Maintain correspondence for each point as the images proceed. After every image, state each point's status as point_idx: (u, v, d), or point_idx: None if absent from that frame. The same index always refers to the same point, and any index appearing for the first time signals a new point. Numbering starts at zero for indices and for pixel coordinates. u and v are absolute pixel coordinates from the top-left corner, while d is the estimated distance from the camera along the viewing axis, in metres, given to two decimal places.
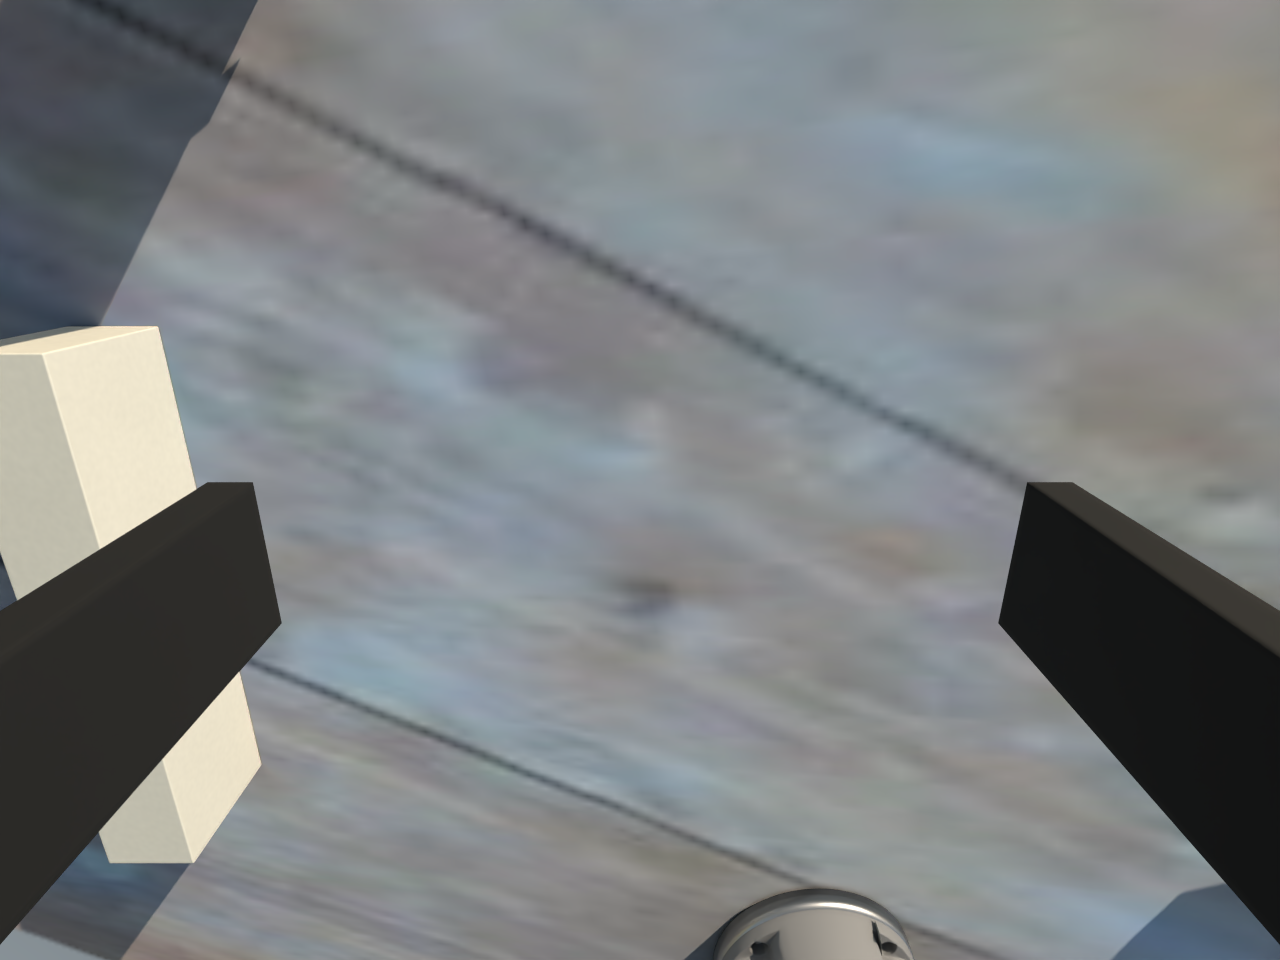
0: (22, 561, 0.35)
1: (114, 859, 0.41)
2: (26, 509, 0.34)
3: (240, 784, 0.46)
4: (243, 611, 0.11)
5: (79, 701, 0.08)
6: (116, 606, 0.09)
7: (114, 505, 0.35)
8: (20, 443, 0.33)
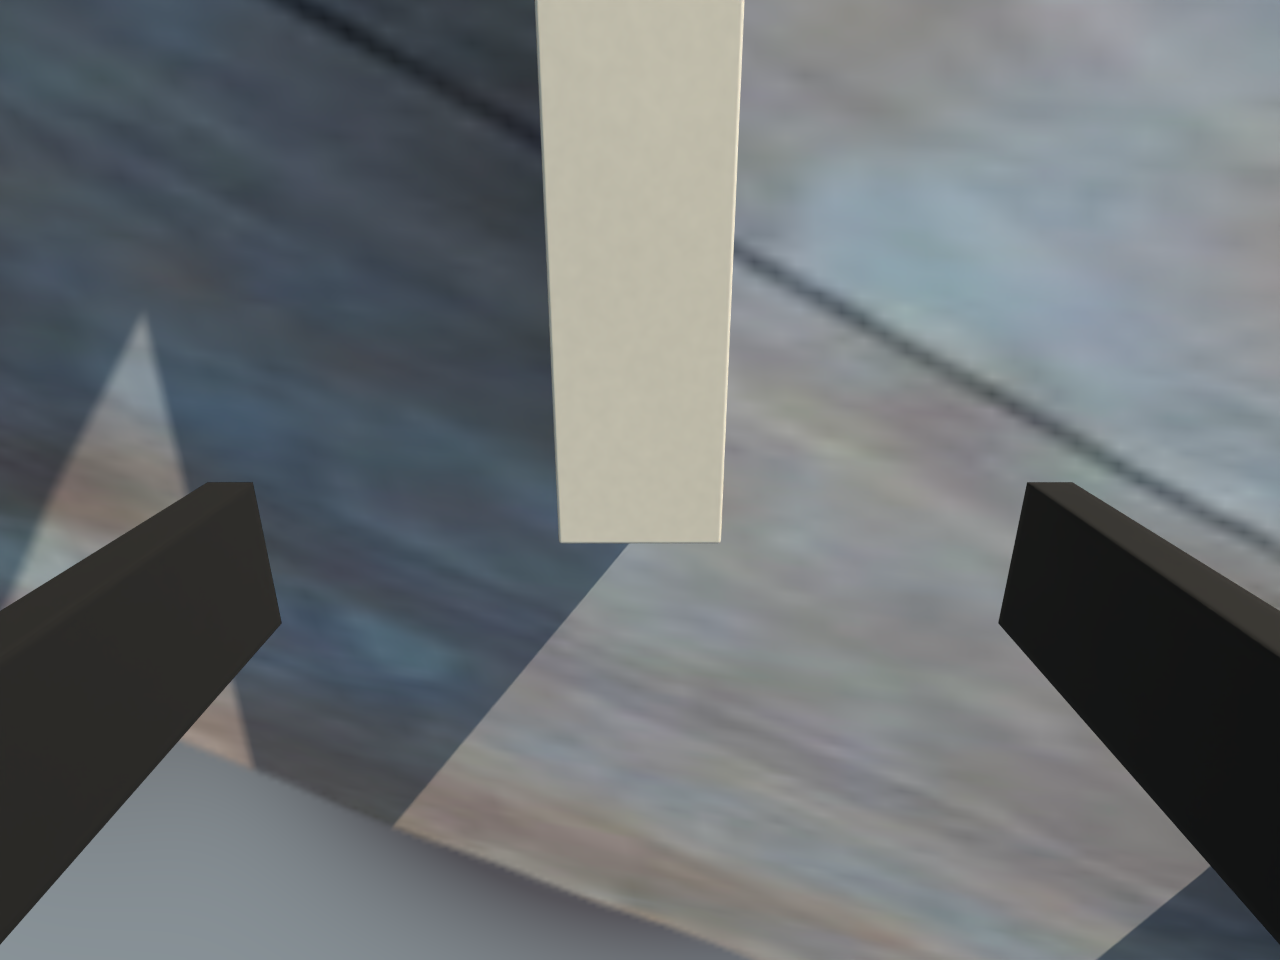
0: None
1: (572, 533, 0.22)
2: None
3: None
4: (243, 611, 0.11)
5: (79, 701, 0.08)
6: (116, 606, 0.09)
7: None
8: None
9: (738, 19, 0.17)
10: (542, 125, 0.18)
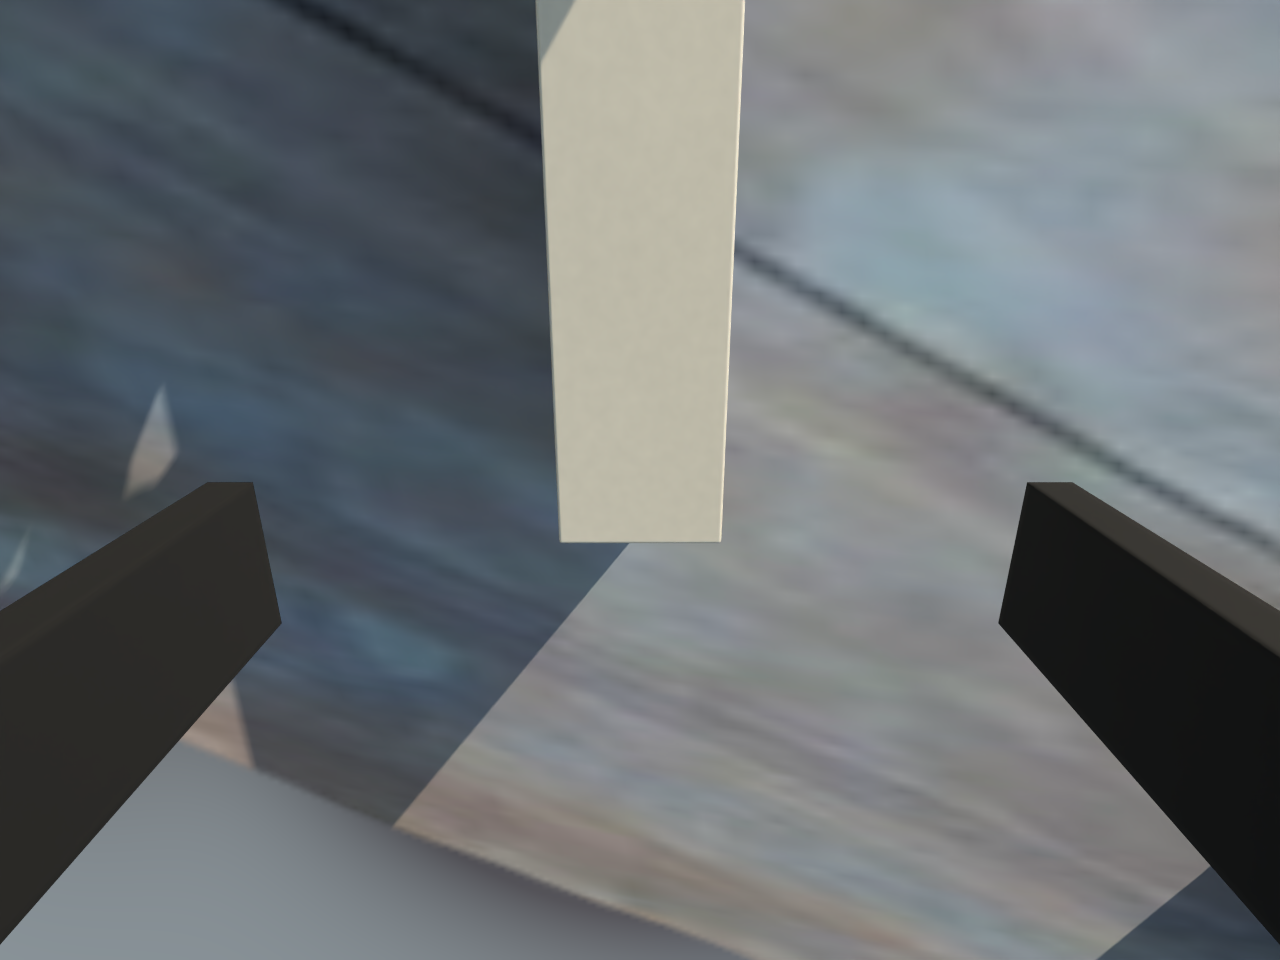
0: None
1: (572, 533, 0.22)
2: None
3: None
4: (243, 611, 0.11)
5: (79, 701, 0.08)
6: (116, 606, 0.09)
7: None
8: None
9: (739, 18, 0.17)
10: (542, 124, 0.18)
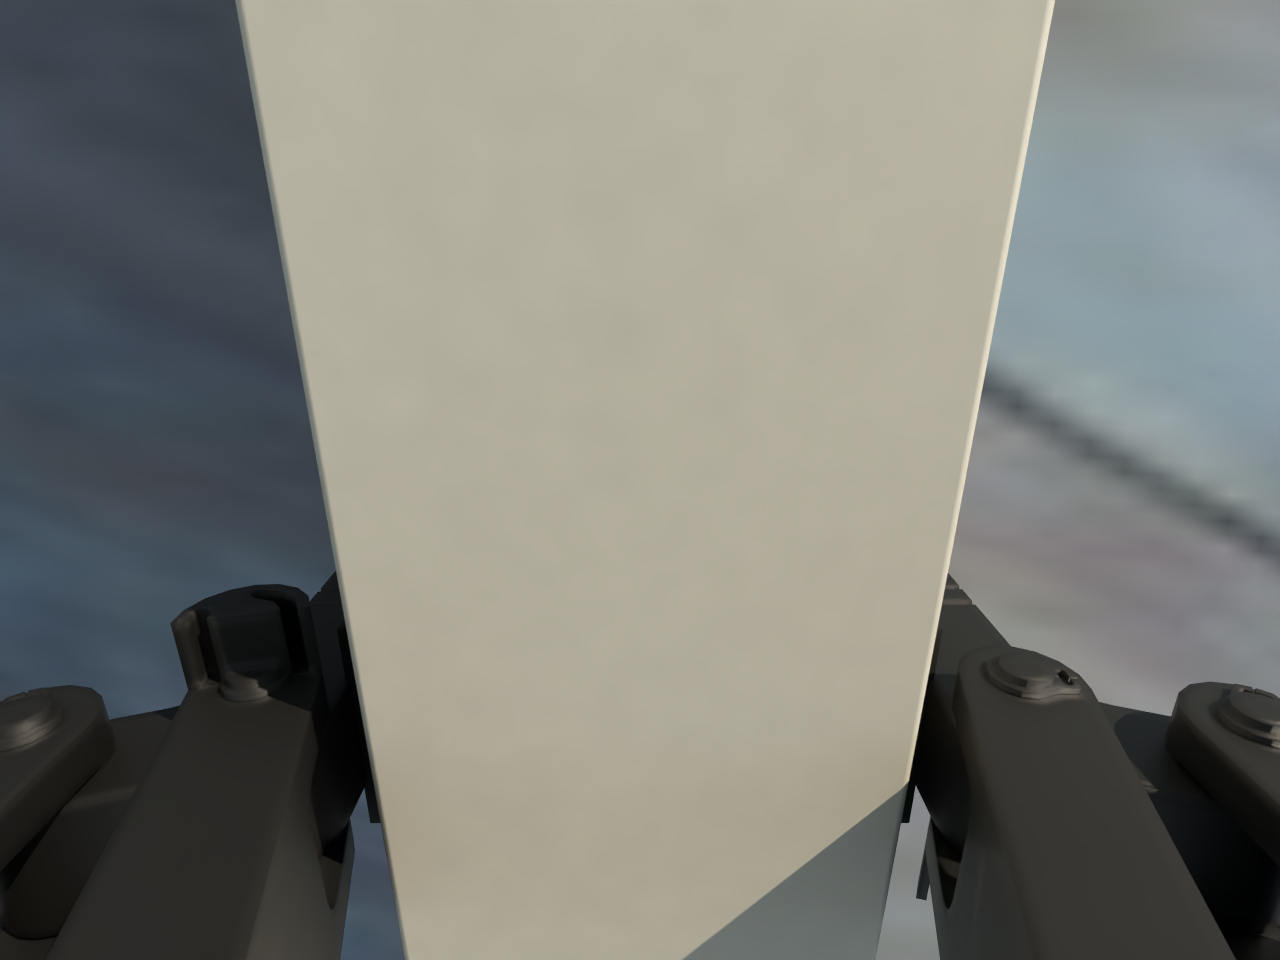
0: None
1: None
2: None
3: None
4: None
5: None
6: None
7: None
8: None
9: None
10: None
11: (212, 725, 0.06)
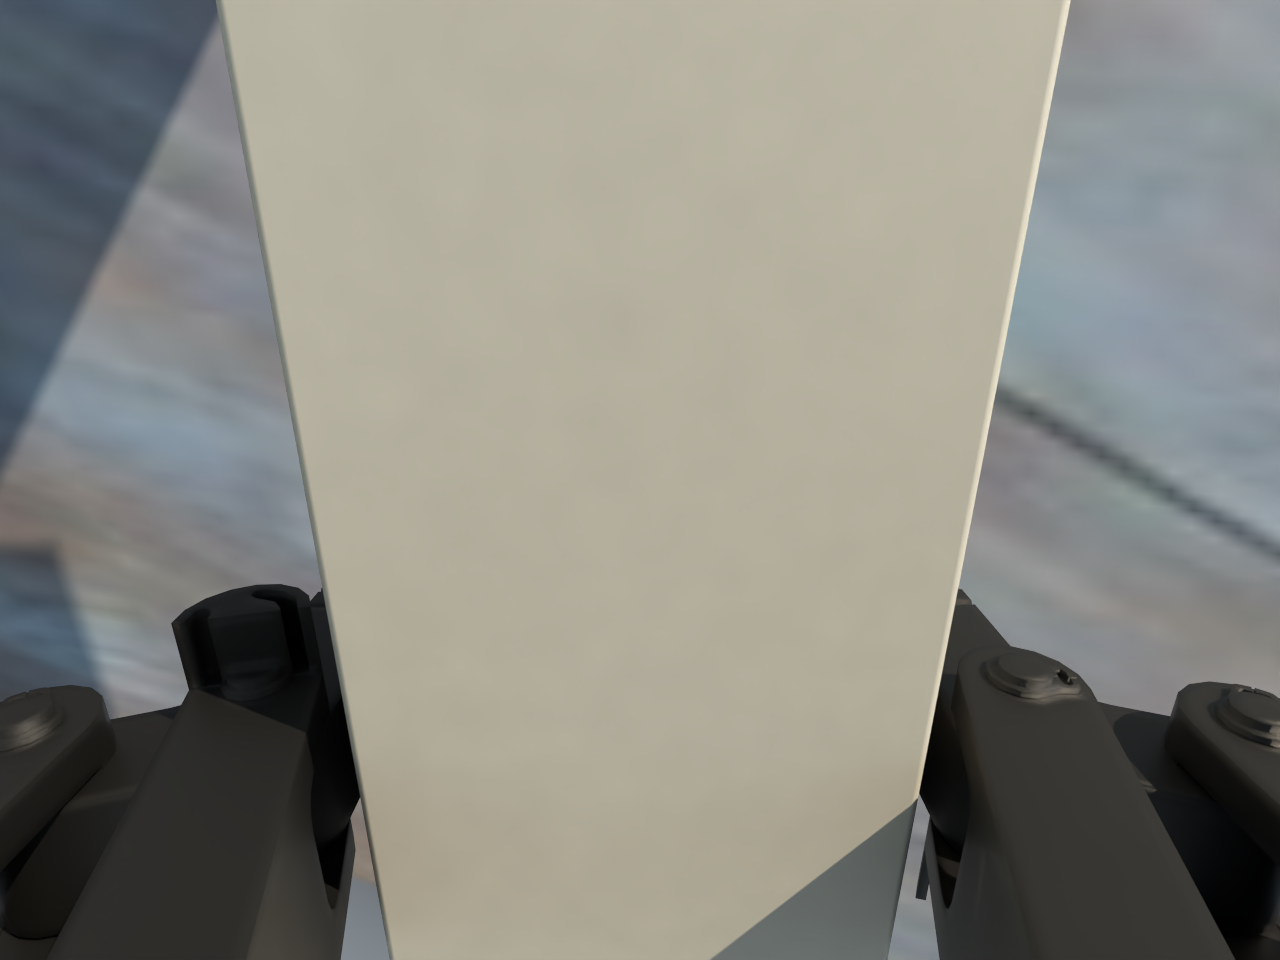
0: None
1: None
2: None
3: None
4: None
5: None
6: None
7: None
8: None
9: None
10: None
11: (212, 725, 0.06)
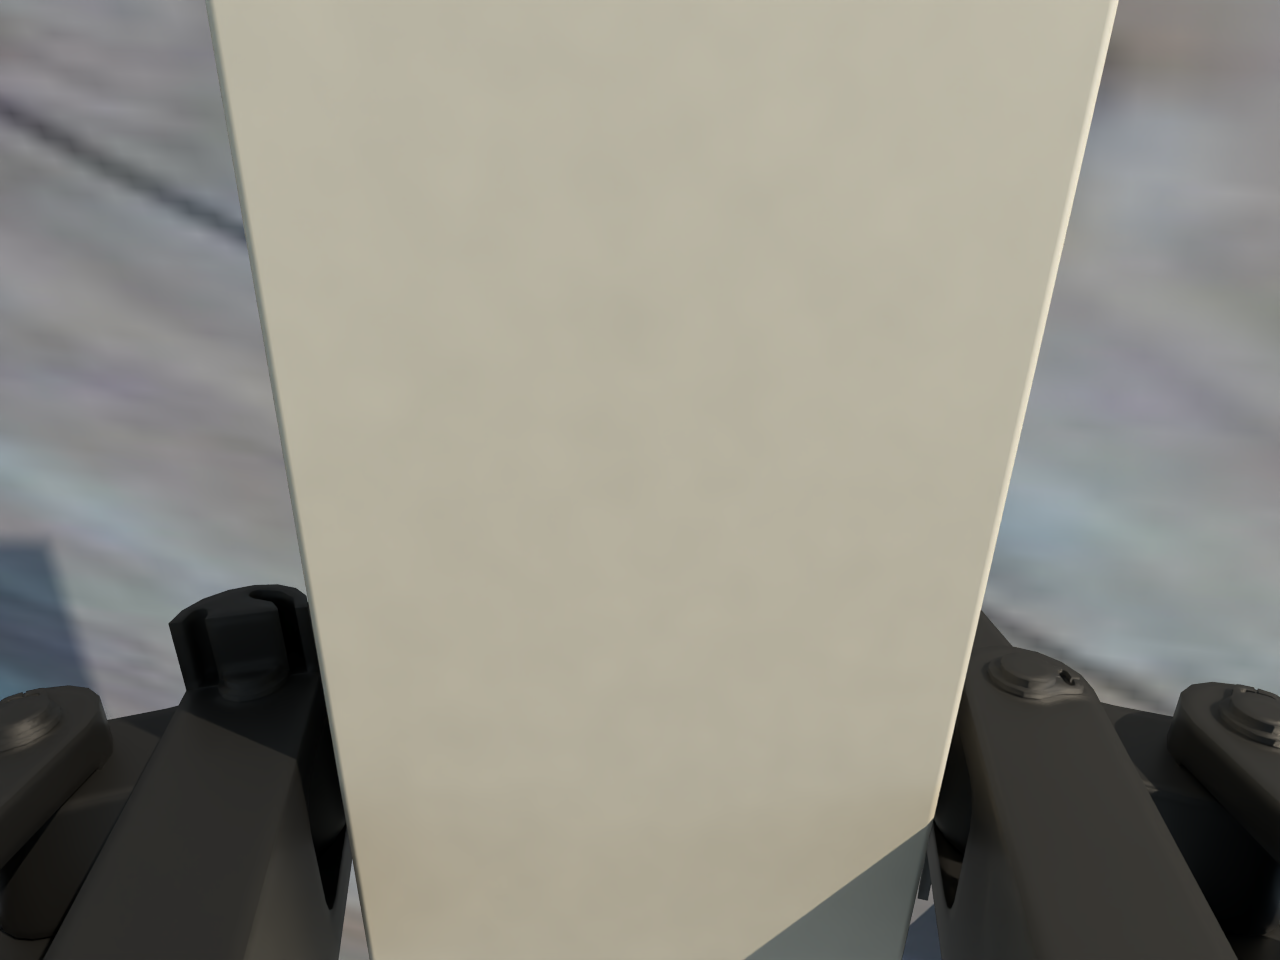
0: None
1: None
2: None
3: None
4: None
5: None
6: None
7: None
8: None
9: None
10: None
11: (210, 725, 0.06)
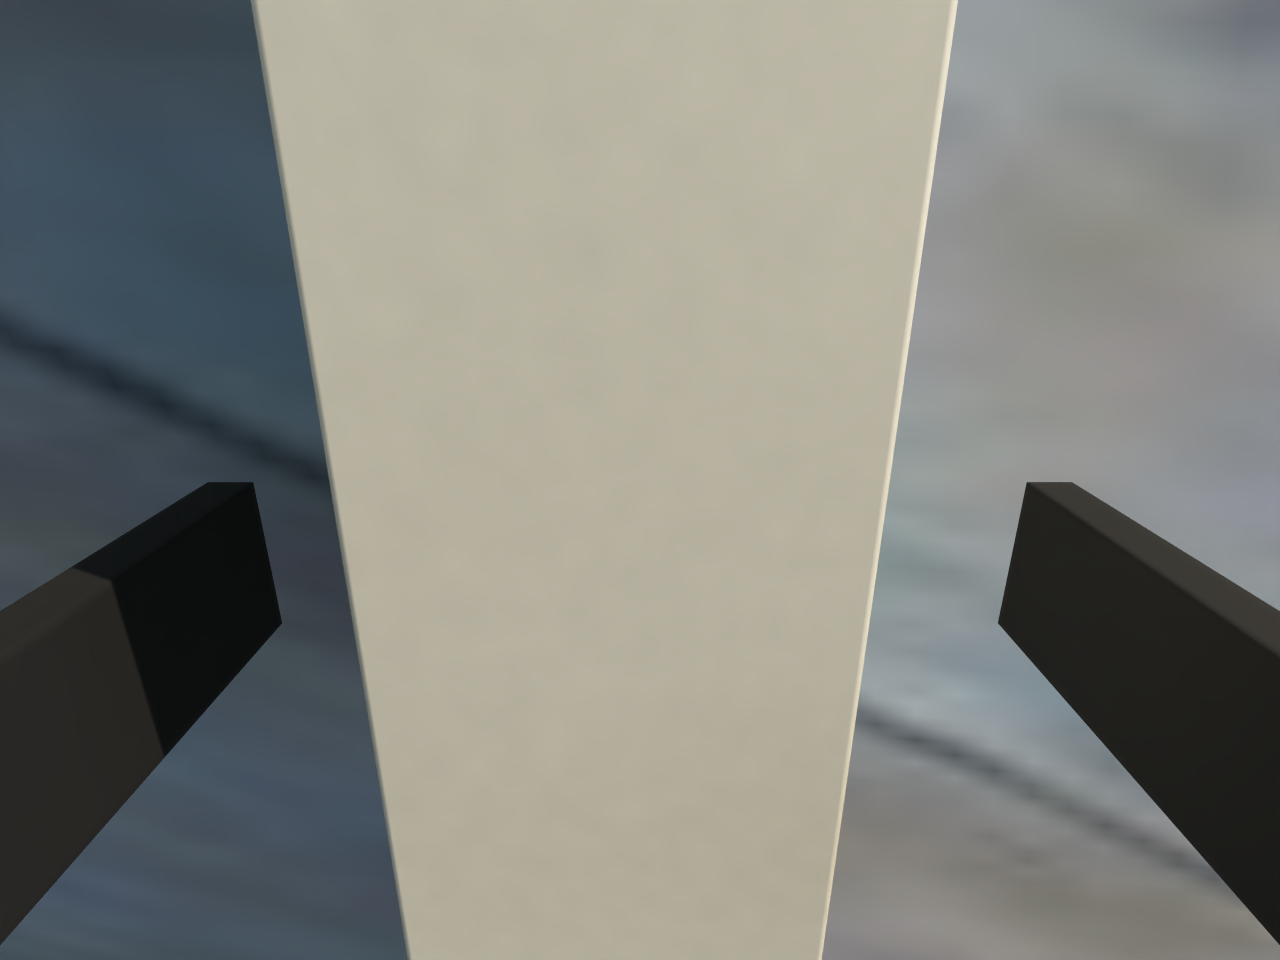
0: None
1: None
2: None
3: None
4: (244, 611, 0.12)
5: (80, 701, 0.08)
6: (117, 606, 0.09)
7: None
8: None
9: None
10: None
11: None
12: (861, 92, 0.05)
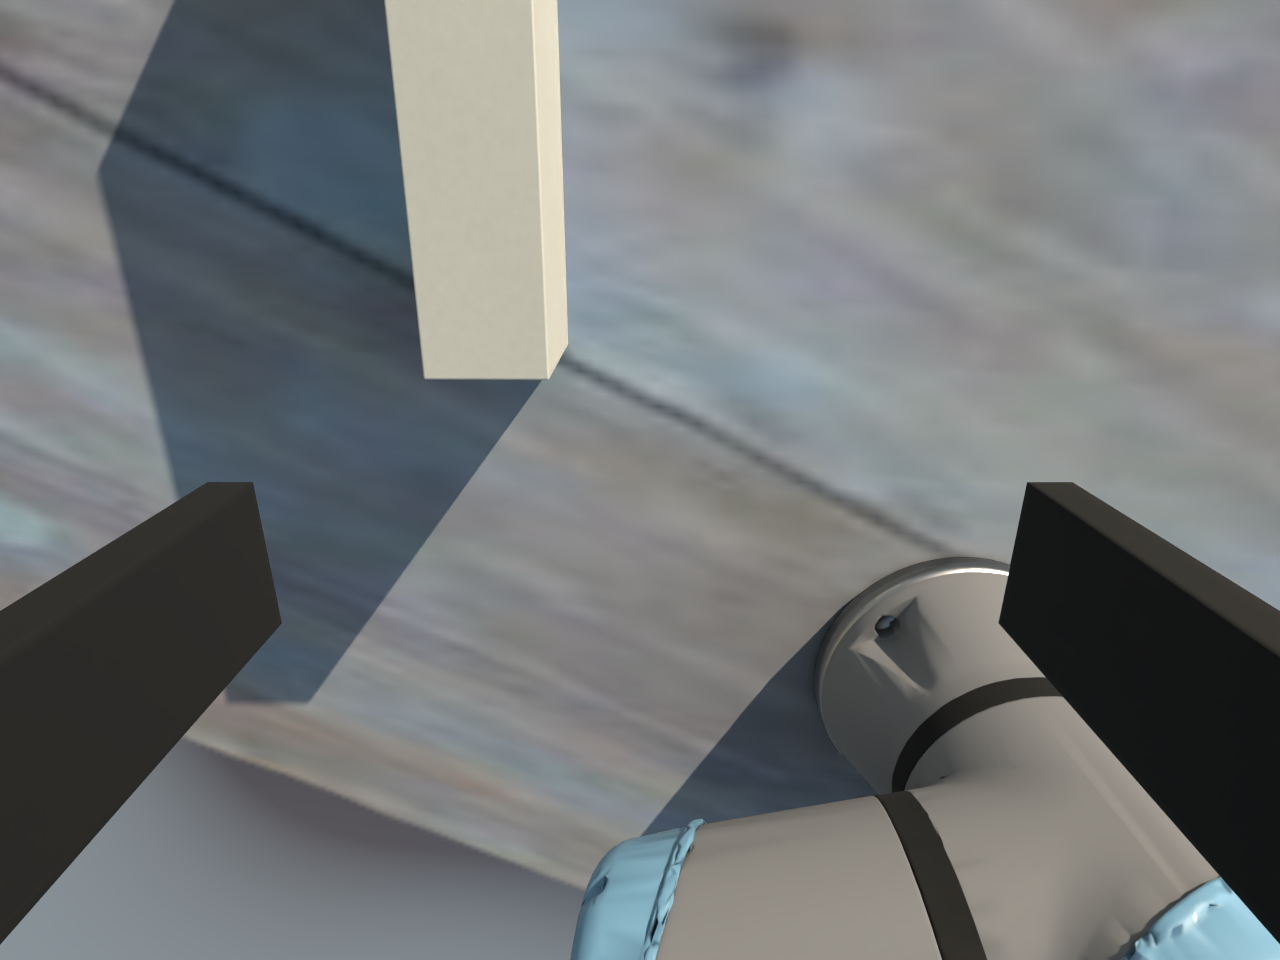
0: None
1: (433, 370, 0.28)
2: None
3: (562, 339, 0.33)
4: (243, 611, 0.11)
5: (79, 701, 0.08)
6: (115, 606, 0.09)
7: None
8: None
9: None
10: (389, 42, 0.24)
11: None
12: (519, 104, 0.25)
